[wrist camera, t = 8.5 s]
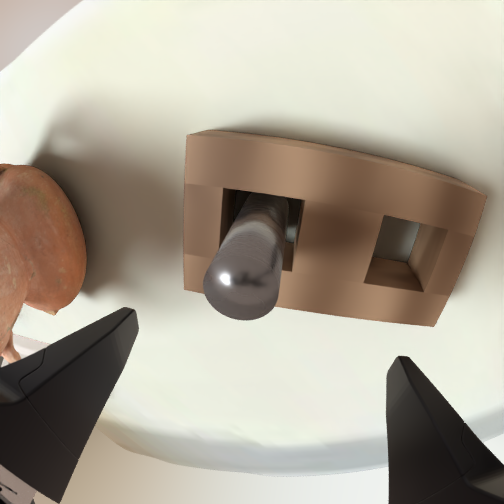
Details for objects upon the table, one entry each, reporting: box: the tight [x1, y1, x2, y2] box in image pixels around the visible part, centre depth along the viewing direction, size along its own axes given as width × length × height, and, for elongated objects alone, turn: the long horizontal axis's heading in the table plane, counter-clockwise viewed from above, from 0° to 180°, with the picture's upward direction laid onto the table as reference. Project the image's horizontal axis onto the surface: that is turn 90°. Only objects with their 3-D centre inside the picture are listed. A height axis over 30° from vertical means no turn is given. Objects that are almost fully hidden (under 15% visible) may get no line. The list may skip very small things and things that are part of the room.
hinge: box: [1, 334, 51, 367], centre depth 33 cm, size 17×5×10 cm, turn 97°
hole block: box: [183, 130, 487, 327], centre depth 18 cm, size 18×10×4 cm, turn 85°
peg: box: [203, 192, 289, 320], centre depth 16 cm, size 3×3×10 cm
